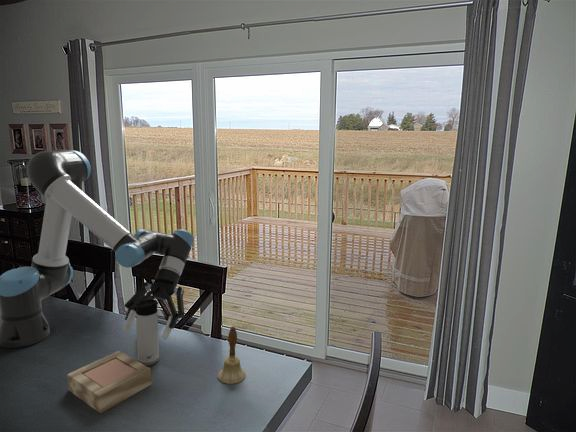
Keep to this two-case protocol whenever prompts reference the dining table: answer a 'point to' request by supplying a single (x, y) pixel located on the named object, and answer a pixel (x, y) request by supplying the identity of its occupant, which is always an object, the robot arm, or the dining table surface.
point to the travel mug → (147, 332)
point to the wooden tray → (113, 392)
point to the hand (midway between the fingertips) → (144, 335)
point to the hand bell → (231, 363)
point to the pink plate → (109, 372)
